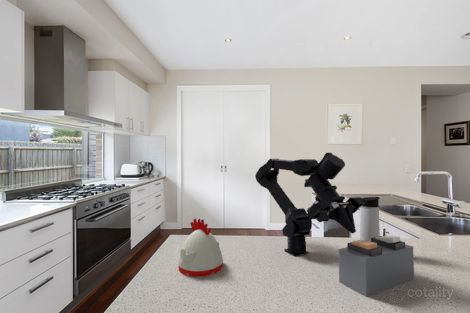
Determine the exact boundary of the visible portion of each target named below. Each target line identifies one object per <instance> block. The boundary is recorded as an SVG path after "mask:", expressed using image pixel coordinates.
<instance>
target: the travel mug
mask: <svg viewBox="0 0 470 313" xmlns="http://www.w3.org/2000/svg"><path fill="white" fill-rule="evenodd" d="M361 198H362V200H363V201H364V202H365V203H364V204H363V205H362V206H361V207H360V208H359V209H358V210H359V240H362V241H368V242H371V238H373V237H378V236H381V234H380V206H379V200H380V197H379V196H375V197H374V196H369V197H368V196H367V197H361Z"/></svg>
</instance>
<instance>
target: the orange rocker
mask: <svg viewBox="0 0 470 313" xmlns="http://www.w3.org/2000/svg"><path fill="white" fill-rule="evenodd" d="M350 242H351V243H352V244H353V245H356V246H359V247H362V248H365V249H368V250H371V249H375V248H377V243H374V242H368V241H362V240H360V239H359V240H353V241H350Z"/></svg>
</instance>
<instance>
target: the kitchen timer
mask: <svg viewBox="0 0 470 313" xmlns="http://www.w3.org/2000/svg"><path fill="white" fill-rule="evenodd" d="M189 224H190V226H191V229H192V233H189V235H188V237H187V238H186V239H185V241H184V243H183V244H182V247H181V249H180V251H179V252H180V253H179V257H178V271H179V272H180V273H181V274H182V275H183V276H187V277H193V278H195V277H196V278H197V277H198V278H200V277H201V278H203V277H208V276H212V275H214V274H217V273H219V272H221V270H223V266H224V260H223V254H222V251H221V250H222V249H221V248H220V242H219V241H217V238H215V236H214V235H213V234H212V233H211V230H212V227H209V228H208V223H205V219H201V218H198V219H196V218H193V221H190V223H189Z"/></svg>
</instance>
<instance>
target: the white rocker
mask: <svg viewBox="0 0 470 313" xmlns="http://www.w3.org/2000/svg"><path fill="white" fill-rule="evenodd" d="M380 236H381V237H376V238H375V239H378V240H382V241H385V242H388V243H395V242H399V241H401V238H400V236H387V235H385V236H383V235H380Z"/></svg>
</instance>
